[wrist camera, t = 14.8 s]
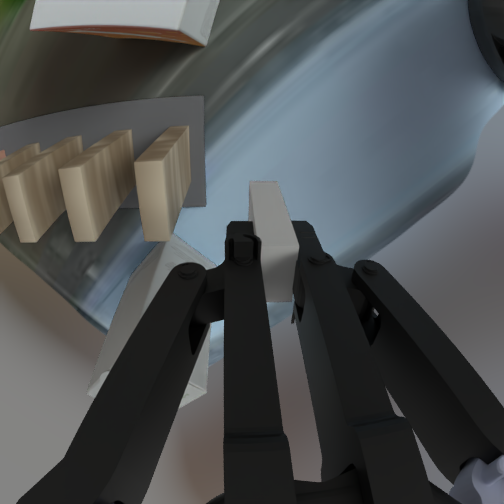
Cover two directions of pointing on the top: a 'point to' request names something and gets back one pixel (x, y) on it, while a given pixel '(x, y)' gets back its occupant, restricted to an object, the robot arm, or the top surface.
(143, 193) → the domino
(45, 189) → the domino
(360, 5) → the top surface
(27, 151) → the domino
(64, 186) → the domino
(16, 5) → the top surface
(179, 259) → the skincare box
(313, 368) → the robot arm
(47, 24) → the small box
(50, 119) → the mat
